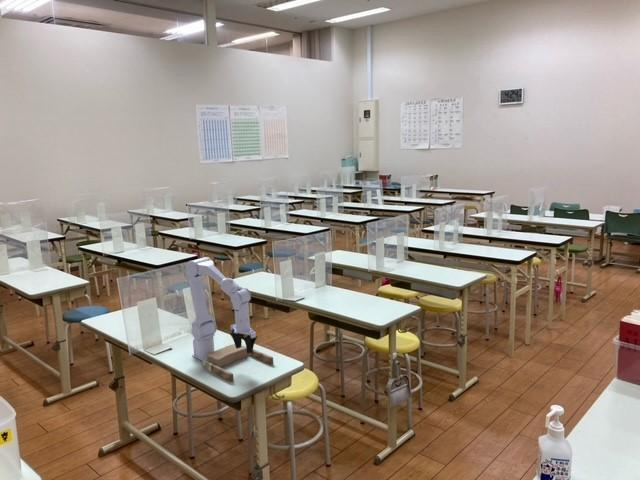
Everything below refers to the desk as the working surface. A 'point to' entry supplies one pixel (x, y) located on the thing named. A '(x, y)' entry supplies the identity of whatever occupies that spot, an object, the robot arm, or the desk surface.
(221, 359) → the brick
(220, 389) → the desk surface
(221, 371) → the lane
